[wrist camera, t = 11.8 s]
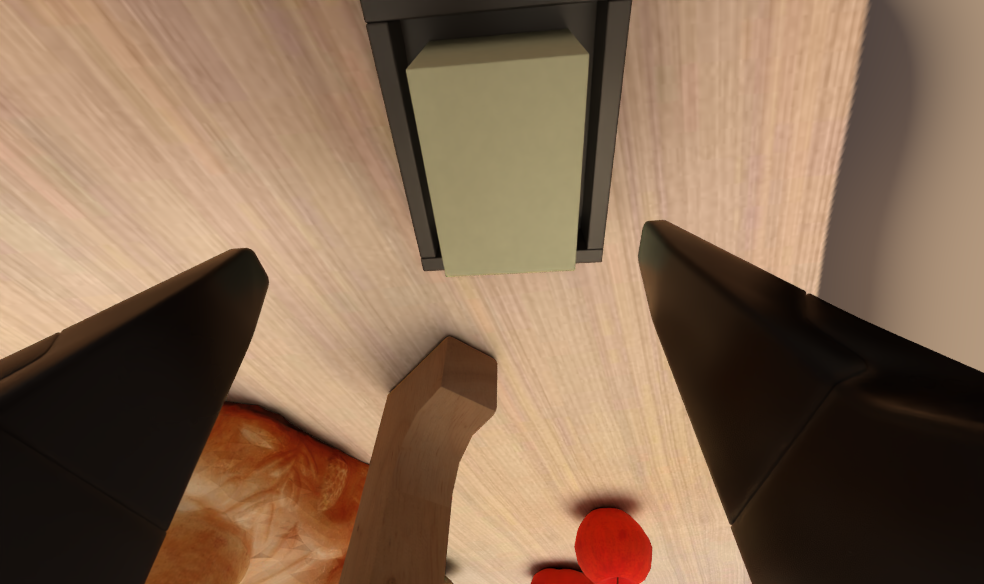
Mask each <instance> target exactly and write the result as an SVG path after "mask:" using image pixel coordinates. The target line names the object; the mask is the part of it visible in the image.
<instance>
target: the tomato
mask: <svg viewBox="0 0 984 584" xmlns="http://www.w3.org/2000/svg"><path fill="white" fill-rule="evenodd" d="M531 584H594V583H593V582H592V581H591V580H590V579H589V578H588V577H587V576H586V575H585V574H584V573H583V572H582V573H580V572H578V571H575V570H572V569H561V570H557V569H554V568H548V569H543V570H541V571H539V572H537V573H536V574H535V575H534V576H533V579H532V582H531Z"/></svg>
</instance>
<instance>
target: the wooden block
mask: <svg viewBox="0 0 984 584" xmlns="http://www.w3.org/2000/svg"><path fill="white" fill-rule="evenodd" d="M496 408H497V362H496V360H495V359H493V358H491V357H490V356H488V355H486V354H484V353H482V352H480V351H478V350H476V349H474V348H472V347H470V346H468V345H466V344H465V343H463V342H461V341H459V340H457V339H455V338H453V337H449V336H448V337H446V338H445V339H444V340H443V341H442V342H441V343H440V344H439V345H438V346H437V347H436V348H435V349H434V350H433V351H432V352H431V353H430V354H429V355H428V356H427V357H426V358H425V359H424V360H423V361H422V362H421V363H420V364H419V365H418V366H417V367H416V368H415V369H414V370H413V371H412V372H411V373H410V374H409V375H408V376H407V377H405V378H404V379H403V380H402V381H401V382H400V383H399V384H398V385H397V386H396V387H395V388H394V389H393V390H392V391H391V392H390V393H389V394H388V397H387V400H386V404H385V408H384V412H383V415H382V419H381V423H380V427H379V430H378V434H377V438H376V442H375V445H374V449H373V453H372V457H371V461H370V465H369V469H368V473H367V477H366V480H365V484H364V488H363V492H362V496H361V500H360V504H359V508H358V511H357V515H356V519H355V523H354V527H353V531H352V534H351V538H350V542H349V546H348V550H347V554H346V557H345V561H344V565H343V569H342V573H341V577H340V580H339V584H444V576H445V566H446V555H447V545H448V534H449V524H450V513H451V503H452V493H453V489H454V484H455V480H456V475H457V471H458V466H459V462H460V460H461V458H462V456H463V454H464V452H465V450H466V448H467V446H468V444H469V441H470V439H471V437H472V435H473V434H474V433H475V432H476V431H477V430H479V429H480V428H481V427H482V426H483V425H484V424H485V423H486V422H487V421H488V420H489V419H490V418H491V417H492V416H493V415H494V413H495V411H496Z"/></svg>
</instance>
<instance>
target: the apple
mask: <svg viewBox="0 0 984 584" xmlns="http://www.w3.org/2000/svg"><path fill="white" fill-rule="evenodd" d="M575 552H576V556H577V561H578V565H579V566H580V568H581V569H582V571H583V573H584V574H585V575H586V576H587V577H588V578H589V579H590V580H591V581H592V582H593V583H594V584H640V583H641V582H643V581H644V580H645V579H646V577H647V575H648V573H649V571H650V569H651V561H652V546H651V543H650V540H649V538H648V537H647V535H646V534H645V532H644V531H643V529H642V528H641V526H640V525H639V524H638V523H637V522H636V521H635V520H634V519H633V518H632V517H631V516H630V515H628V514H627V513H626V512H624V511H623V510H620V509H616V508H599V509H595V510H592V511H591V512H590V513H589V514H588V515H587V516H586V517H585V518H584V520H583V521H582V523H581V524H580V526H579V528H578V531H577V536H576V541H575Z"/></svg>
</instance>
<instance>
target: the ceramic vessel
mask: <svg viewBox="0 0 984 584" xmlns="http://www.w3.org/2000/svg"><path fill="white" fill-rule="evenodd" d="M368 469H369V464H366V463H363V462H361V461H359V460H357V459H355V458H353V457H351V456H349V455H347V454H345V453H344V452H342V451H340V450H338V449H336V448H334V447H332V446H330V445H328V444H326V443H324V442H322V441H320V440H318V439H317V438H315V437H313V436H311V435H310V434H308V433H307V432H305V431H303V430H301V429H300V428H298V427H296V426H295V425H293V424H291V423H290V422H289V421H287V420H286V419H285V418H284V417H283V416H281V415H280V414H277V413H274V412H271V411H268V410H266V409H264V408H262V407H260V406H258V405H250V404H241V403H234V402H225V401H224V404H223V406H222V408H221V411H220V413H219V415H218V417H217V420H216V422H215V424H214V426H213V429H212V431H211V433H210V436H209V438H208V440H207V442H206V445H205V447H204V449H203V451H202V454H201V456H200V458H199V461H198V463H197V465H196V467H195V470H194V472H193V474H192V476H191V479H190V481H189V483H188V486H187V488H186V490H185V492H184V495H183V497H182V499H181V502H180V504H179V506H178V508H177V511H176V513H175V515H174V517H173V520H172V522H171V524H170V527H169V529H168V530H167V531H165V532H166V533H167V534H166V537H165V539H164V541H163V543H162V546H161V548H160V550H159V552H158V555H157V557H156V559H155V562H154V564H153V566H152V568H151V571H150V573H149V575H148V578H147V580H146V582H145V584H339V580H340V577H341V573H342V569H343V565H344V561H345V557H346V554H347V550H348V546H349V542H350V538H351V534H352V531H353V527H354V523H355V519H356V515H357V511H358V508H359V504H360V500H361V496H362V492H363V488H364V484H365V480H366V477H367V473H368Z"/></svg>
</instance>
